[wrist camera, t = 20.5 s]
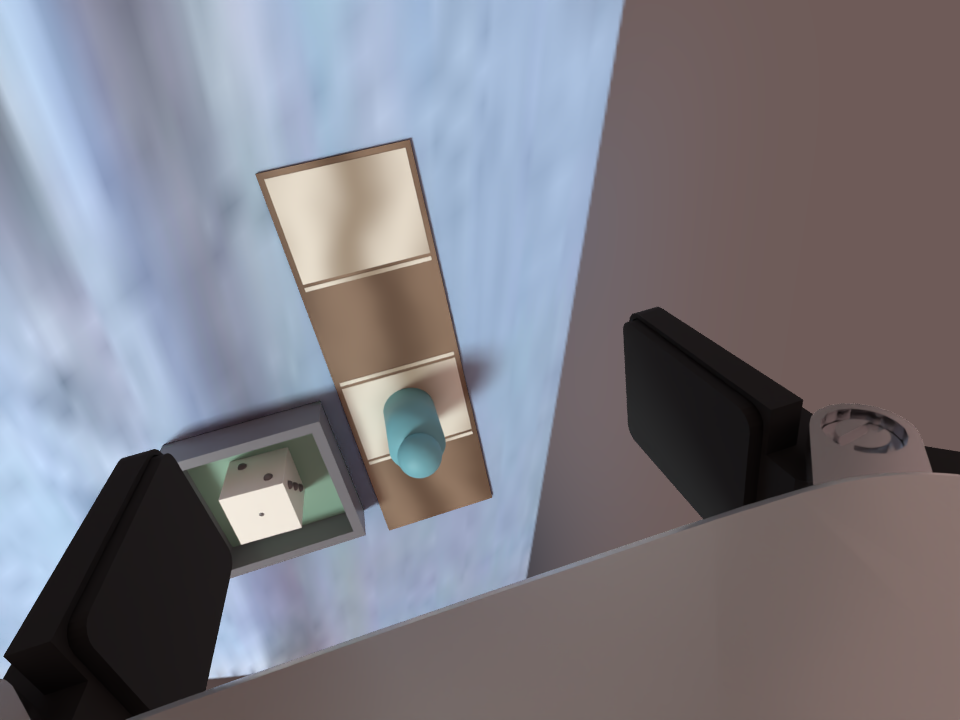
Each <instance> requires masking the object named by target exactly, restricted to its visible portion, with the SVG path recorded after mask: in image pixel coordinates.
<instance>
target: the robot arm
mask: <svg viewBox="0 0 960 720" xmlns="http://www.w3.org/2000/svg"><path fill="white" fill-rule="evenodd" d="M623 335H624V355H625V374H626V393H627V413H628V427H629V430H630V433H631V435H632V437H633V439H634V440H635V441H636V442H637V443H638V445H639V446H640V447H641V448H642V449H643V450H644V452H645V453H646V454H647V455H648V456H649V457H650V459H651V460H652V461H653V462H654V463H655V464H656V465H657V467H658V468H659V469H660V470H661V471H662V472H663V473H664V475H665V476H666V477H667V478H668V479H669V480H670V482H671V483H672V484H673V485H674V486H675V487H676V488H677V490H678V491H679V492H680V493H681V494H682V495H683V496H684V498H685V499H686V500H687V501H688V502H689V503H690V504H691V506H692V507H693V508H694V509H695V510H696V511H697V512H698V513H699V515H700V516H701V517H702V518H703V520H700V521H697V522H694V523H690V524H688V525H684V526H681V527H678V528H675V529H672V530H669V531H667V532H664V533H661V534H658V535H655V536H652V537H649V538H646V539H643V540H640V541H637V542H634V543H631V544H628V545H625V546H622V547H619V548H616V549H613V550H610V551H608V552H605V553H602V554H598V555H596V556H593V557H590V558H587V559H584V560H581V561H578V562H575V563H572V564H569V565H566V566H563V567H560V568H557V569H554V570H551V571H548V572H545V573H543V574H540V575H537V576H534V577H531V578H528V579H525V580H522V581H519V582H516V583H513V584H510V585H508V586H505V587H502V588H499V589H496V590H493V591H490V592H487V593H484V594H481V595H478V596H475V597H473V598H470V599H467V600H464V601H461V602H458V603H455V604H452V605H449V606H446V607H444V608H441V609H438V610H435V611H432V612H429V613H426V614H423V615H420V616H418V617H415V618H412V619H409V620H406V621H403V622H400V623H397V624H394V625H392V626H389V627H386V628H383V629H380V630H377V631H374V632H371V633H368V634H366V635H363V636H360V637H357V638H354V639H351V640H349V641H346V642H343V643H340V644H337V645H334V646H331V647H329V648H326V649H323V650H320V651H317V652H314V653H311V654H309V655H306V656H303V657H300V658H297V659H294V660H291V661H289V662H286V663H283V664H280V665H277V666H274V667H272V668H269V669H266V670H263V671H260V672H257V673H254V674H252V675H249V676H246V677H243V678H240V679H237V680H235V681H232V682H229V683H226V684H223V685H220V686H217V687H215V688H212V689H209V690H206V686H207V681H208V677H209V672H210V667H211V663H212V658H213V654H214V649H215V644H216V640H217V635H218V631H219V626H220V621H221V617H222V612H223V607H224V603H225V598H226V594H227V589H228V584H229V580H230V575H231V571H232V556H231V552H230V550H229V548H228V546H227V544H226V543H225V541H224V539H223V538H222V536H221V534H220V533H219V531H218V529H217V528H216V526H215V524H214V523H213V521H212V519H211V518H210V516H209V514H208V513H207V511H206V509H205V508H204V506H203V504H202V503H201V501H200V499H199V498H198V496H197V494H196V493H195V491H194V489H193V488H192V486H191V484H190V483H189V481H188V479H187V478H186V476H185V474H184V473H183V471H182V469H181V468H180V466H179V464H178V463H177V461H176V459H175V458H174V457H173V456H172V455H171V454H169V453H166V454H162V453H161V452H160V451H159V450H156V449H153V450H149V451H146V452H142V453H139V454H135V455H132V456H128V457H125V458H122V459H121V460H120V461H119V462H118V463H117V465H116V467H115V468H114V470H113V472H112V473H111V475H110V477H109V478H108V480H107V482H106V484H105V485H104V487H103V489H102V490H101V492H100V494H99V495H98V497H97V499H96V500H95V502H94V504H93V506H92V507H91V509H90V511H89V512H88V514H87V516H86V517H85V519H84V521H83V522H82V524H81V526H80V528H79V529H78V531H77V533H76V534H75V536H74V538H73V539H72V541H71V543H70V544H69V546H68V548H67V550H66V551H65V553H64V555H63V556H62V558H61V560H60V561H59V563H58V565H57V566H56V568H55V570H54V572H53V573H52V575H51V577H50V578H49V580H48V582H47V583H46V585H45V587H44V588H43V590H42V592H41V594H40V595H39V597H38V599H37V600H36V602H35V604H34V605H33V607H32V609H31V610H30V612H29V614H28V615H27V617H26V619H25V621H24V622H23V624H22V626H21V627H20V629H19V631H18V632H17V634H16V636H15V637H14V639H13V641H12V643H11V644H10V646H9V648H8V649H7V651H6V653H5V654H4V656H3V657H4V658H6V659H7V660H8V661H9V662H10V663H11V666H10V667H9V669H8V671H7V673H6V674H5V676H4V678H3V679H0V720H960V452H958V451H951V450H945V449H938V448H932V447H926V446H924V444H923V441H922V437H921V435H920V434H919V432H918V431H917V429H916V427H915V426H913V425H912V424H911V423H909V422H908V421H907V420H906V419H904V418H902V417H900V416H898V415H896V414H894V413H892V412H890V411H887V410H883V409H881V408H878V407H874V406H868V405H862V404H844V403H843V404H835V405H829V406H826V407H824V408H821V409H819V410H817V411H816V412H815V413H814V414H812V413H810V412H809V411H807V410H805V409H804V408H803V407H802V404H803V399H801V398H800V397H798V396H796V395H795V394H793V393H792V392H790V391H789V390H787V389H786V388H784V387H782V386H781V385H779V384H778V383H776V382H775V381H773V380H772V379H770V378H769V377H767V376H766V375H764V374H762V373H761V372H759V371H758V370H756V369H755V368H753V367H752V366H750V365H749V364H747V363H745V362H744V361H742V360H741V359H739V358H738V357H736V356H735V355H733V354H731V353H730V352H728V351H727V350H725V349H724V348H722V347H721V346H719V345H717V344H716V343H715V342H713V341H712V340H710V339H708V338H707V337H705V336H704V335H702V334H701V333H699V332H697V331H696V330H694V329H693V328H691V327H690V326H688V325H687V324H685V323H684V322H682V321H681V320H679V319H677V318H676V317H674V316H673V315H671V314H670V313H668V312H667V311H665V310H664V309H662V308H660V307H655V308H652V309H648V310H645V311H641V312H637V313H634V314H632V315H631V317H630V320H629V322H627V323H625V324H624V327H623ZM205 690H206V691H205Z"/></svg>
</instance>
